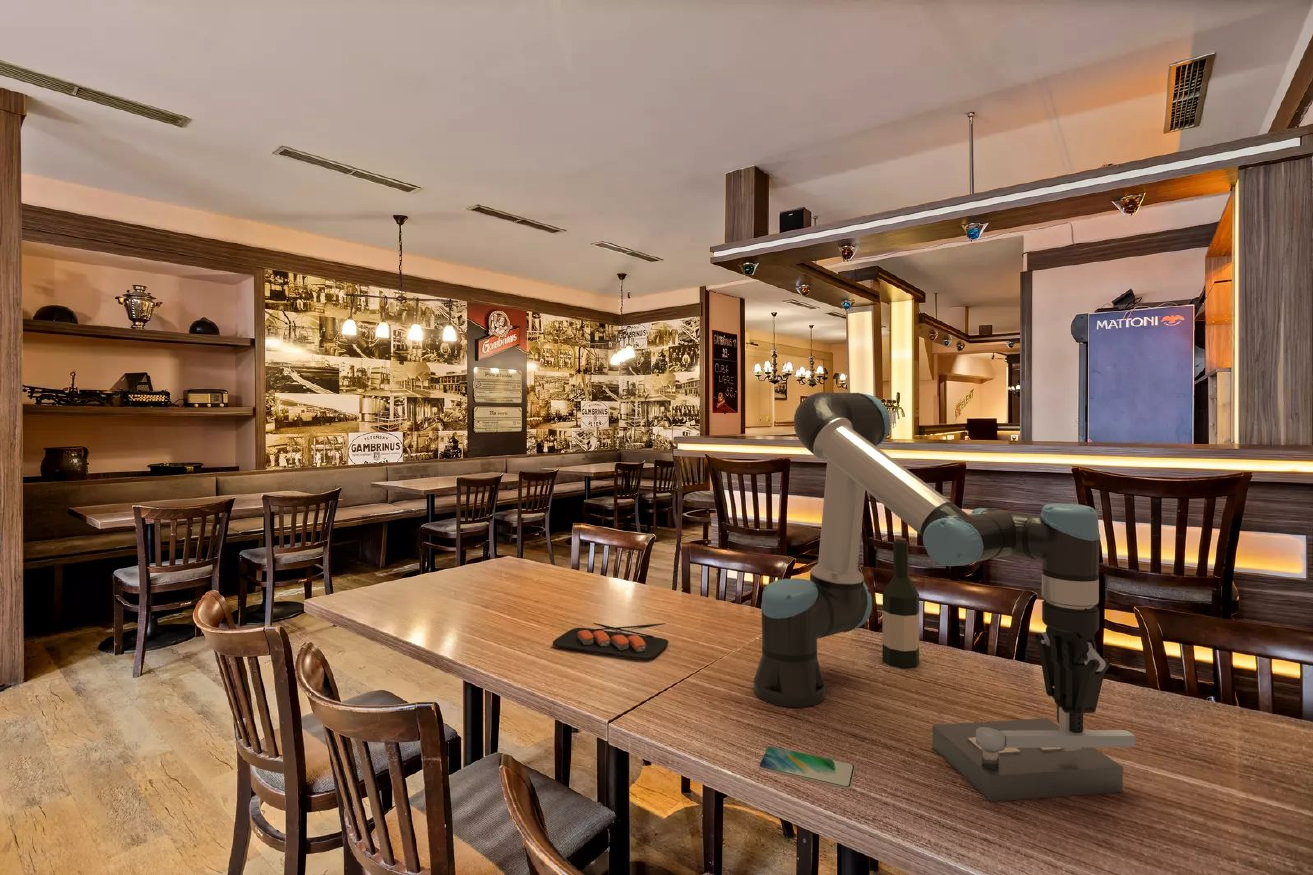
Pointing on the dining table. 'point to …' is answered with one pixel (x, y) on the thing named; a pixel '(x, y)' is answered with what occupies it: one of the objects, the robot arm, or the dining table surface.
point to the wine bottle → (900, 613)
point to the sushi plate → (613, 641)
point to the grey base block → (1025, 764)
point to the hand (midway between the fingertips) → (1069, 748)
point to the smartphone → (808, 767)
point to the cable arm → (1051, 738)
